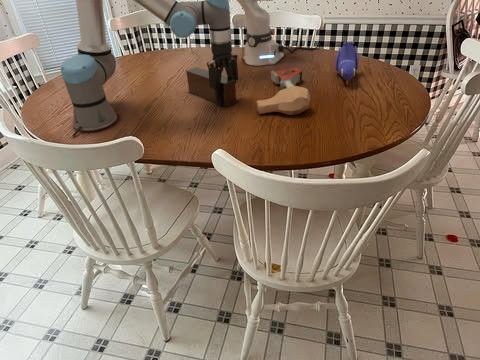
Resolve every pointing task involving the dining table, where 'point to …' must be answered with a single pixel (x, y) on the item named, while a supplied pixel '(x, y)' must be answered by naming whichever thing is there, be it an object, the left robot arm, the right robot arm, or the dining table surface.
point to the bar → (201, 86)
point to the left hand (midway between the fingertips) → (225, 101)
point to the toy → (347, 61)
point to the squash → (286, 101)
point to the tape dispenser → (287, 77)
